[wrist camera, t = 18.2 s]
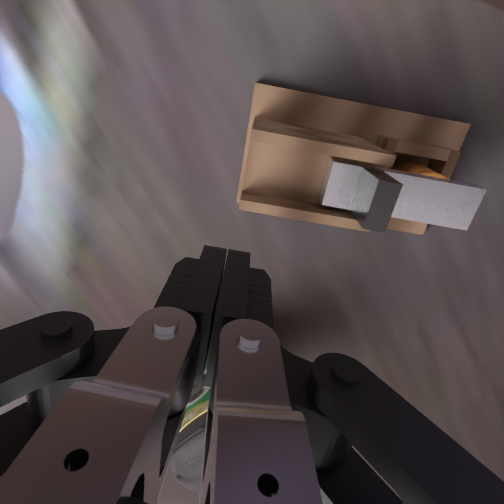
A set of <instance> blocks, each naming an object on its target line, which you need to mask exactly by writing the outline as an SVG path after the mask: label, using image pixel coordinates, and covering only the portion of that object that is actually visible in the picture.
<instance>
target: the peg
mask: <svg viewBox="0 0 504 504" xmlns="http://www.w3.org/2000/svg"><path fill="white" fill-rule="evenodd" d="M390 169H394V170H399V171H405V172H410V173H416V174H421V175H427V176H432V177H437V178H443V179H448V180H450V179H449V178H447V177H445V176H443V175H441V174H439V173H437V172H435V171H433V170H431V169H429V168H427V167H425V166H423V165H421V164H419V163H417V162H415V161H413V160H411V159H409V158H397V159H395V161H394V164H393V167H391V166H390Z"/></svg>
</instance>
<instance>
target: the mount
mask: <svg viewBox="0 0 504 504" xmlns="http://www.w3.org/2000/svg"><path fill="white" fill-rule="evenodd" d="M470 125H471V124H468V123H463V122H458V121H452V120H447V119H442V118H437V117H432V116H426V115H421V114H416V113H411V112H406V111H400V110H395V109H390V108H385V107H379V106H374V105H369V104H364V103H359V102H353V101H348V100H343V99H338V98H333V97H327V96H322V95H317V94H312V93H307V92H301V91H296V90H291V89H286V88H281V87H275V86H270V85H265V84H260V83H255V86H254V93H253V99H252V106H251V112H250V118H249V125H248V131H247V137H246V144H245V150H244V157H243V163H242V169H241V176H240V182H239V188H238V195H237V201H236V202H237V203H240V204H239V210H245V211H250V212H256V213H262V214H268V215H273V216H279V217H285V218H291V219H297V220H302V221H308V222H314V223H320V224H326V225H331V226H337V227H343V228H349V229H355V230H360V231H366V232H370V230H367V229H362V227H361V226H360V225H359V223H358V222H357V220H356V219H355V218H354V216H353V215H352V213H351V212H350V211H349V210H348V209H342V208H336V207H331V206H325V205H322V204H321V202H320V200H319V196H320V192H321V189H322V185H323V181H324V178H325V174H326V170H327V166H328V163H329V159H330V158H334V159H339V160H345V161H350V162H355V163H361V164H366V165H372V166H377V167H383V168H388V169H390V166H391V167H393V164H394V161H395V159H397V158H409V159H411V160H413V161H415V162H417V163H419V164H421V165H423V166H425V167H427V168H429V169H431V170H433V171H435V172H437V173H439V174H441V175H443V176H445V177H447V178H449V179H450V177H451V175H452V173H453V170H454V168H455V166H456V164H457V161H458V159H459V157H460V154H461V152H459V150H460V148H461V146H462V143H463V141H464V139H465V137H466V134H467V132H468V130H469V127H470ZM426 227H427V223H422V222H416V221H410V220H405V219H399V218H393V217H391V218H390V221H389V223H388V226H387V229H392V230H398V231H404V232H409V233H415V234H421V235H423V234H424V231H425V229H426Z"/></svg>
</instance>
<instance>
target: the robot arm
mask: <svg viewBox="0 0 504 504" xmlns="http://www.w3.org/2000/svg"><path fill="white" fill-rule="evenodd" d="M226 252H227V249H225V248H219V247H213V246H207V245H205V246H204V248H203V251H202V254H201V256H200V259H194V258H188V257H185V258H184V259H182V260H181V261H179V262H177V263H176V264H175V266H174V268H173V270H172V272H171V275H170V276H169V278H168V280H167V282H166V284H165V286H164V288H163V290H162V292H161V294H160V296H159V298H158V300H157V302H156V304H155V306H154V308H152V309H149V310H147V311H145V312H143V313H141V314H140V315H139V316H138V317H137V318H136V319H135V321H134V322H133V324H132V325H131V326H130V327H127V328H122V329H113V330H99V331H94V325H93V322H92V321H91V319H90V318H88V317H87V316H85V315H83V314H80V313H77V312H70V311H60V312H53V313H48V314H45V315H41V316H39V317H36V318H33V319H30V320H27V321H24V322H21V323H19V324H16V325H13V326H10V327H7V328H4V329H2V330H0V407H2V406H4V405H6V404H8V403H10V402H12V401H14V400H16V399H18V398H20V397H22V396H24V395H26V398H27V402H25V403H23V404H21V405H20V406H17V407H15V408H13V409H12V410H10V411H8V412H6V413H4V414H2V415H0V504H157V503H158V498H159V494H160V490H161V487H162V483H163V480H164V477H165V474H166V471H167V468H168V465H169V462H170V459H171V456H172V453H173V450H174V447H175V444H176V440H177V437H178V434H179V431H180V428H181V425H182V422H183V419H184V416H185V413H186V407H187V404H188V402H189V399H190V396H191V392H192V388H193V385H199V386H202V382H203V377H204V372H205V367H206V362H207V357H208V352H209V358H208V364H207V371H206V378H205V384H204V386H207V387H211V392H210V398H209V405H208V411H207V417H206V429H205V441H204V453H203V464H202V476H201V488H200V498H199V504H504V481H502V480H501V479H500V478H499V477H498V476H496V475H495V474H494V473H493V472H492V471H490V470H489V469H488V468H487V467H485V466H484V465H483V464H482V463H481V462H479V461H478V460H477V459H476V458H475V457H473V456H472V455H471V454H470V453H469V452H467V451H466V450H465V449H464V448H463V447H461V446H460V445H459V444H458V443H457V442H455V441H454V440H453V439H452V438H451V437H449V436H448V435H447V434H446V433H445V432H443V431H442V430H441V429H440V428H439V427H437V426H436V425H435V424H434V423H433V422H431V421H430V420H429V419H428V418H427V417H425V416H424V415H423V414H422V413H421V412H419V411H418V410H417V409H416V408H415V407H413V406H412V405H411V404H410V403H409V402H407V401H406V400H405V399H404V398H403V397H401V396H400V395H399V394H398V393H397V392H395V391H394V390H393V389H392V388H391V387H389V386H388V385H387V384H386V383H385V382H383V381H382V380H381V379H380V378H379V377H377V376H376V375H375V374H374V373H373V372H371V371H370V370H369V369H368V368H367V367H365V366H364V365H363V364H362V363H360V362H359V361H357V360H355V359H354V358H351V357H349V356H347V355H343V354H339V353H326V354H323V355H320V356H319V357H317V358H316V359H315V361H314V363H312V362H310V361H307V360H305V359H302V358H300V357H298V356H295V355H293V354H292V353H290V352H288V351H287V350H286V349H284V348H283V347H282V346H281V345H280V342H279V338H278V336H277V334H276V333H275V332H274V330H273V315H272V299H271V298H272V293H271V279H270V277H269V276H268V275H267V273H266V272H265V270H262V269H256V268H250V253H249V252H243V251H237V250H231V249H229V250H228V255H227V260H226V264H225V259H226ZM224 265H225V269H224ZM223 272H224V274H223ZM222 278H223V279H222ZM210 342H211V344H210ZM209 347H210V351H209ZM352 445H353V446H354V447H355V448H356V449H357V450H358V451H359V453H360V454H361V455H362V456H363V457H364V458H365V459H366V460H367V461H368V462H369V463H370V464H371V465H372V466H373V467H374V468H375V469H376V471H377V472H378V473H379V474H380V475H381V476H382V477H383V478H384V479H385V480H386V481H387V482H388V483H389V484H390V485H391V486H392V488H393V489H394V490H395V491H396V492H397V494H398V495H399V497H400V498H401V499H400V498H399V497H398V496H397V495H396V494H395V493H394V492H393V491H392V490H391V489H390V488H389V487H388V485H387V484H386V483H385V482H384V481H383V480H382V479H381V478H380V477H379V476H378V475H377V474H376V473H375V472H374V470H373V469H372V468H371V467H370V466H369V465H368V464H367V463H366V462H365V461H364V460H363V459H362V458H361V457H360V455H359V454H358V453H357V452H356V451H355V450H354V449H353V448H352Z"/></svg>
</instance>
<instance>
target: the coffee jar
mask: <svg viewBox="0 0 504 504" xmlns="http://www.w3.org/2000/svg"><path fill="white" fill-rule="evenodd" d="M210 344H211V342H210ZM209 351H210V347H209ZM208 358H209V352H208V357H207V362H206V367H205V372H204V377H203V382H202V386H199V385H193V388H192V392H191V396H190V399H189V402H188V404H187V407H186V413H185V416H184V419H183V422H182V425H181V428H180V431H179V434H178V437H177V440H176V444H175V447H174V450H173V454H172V469H173V472H174V475H175V478H176V480H177V481H178V482H180V483H181V484H182V485H184V486H186V487H187V488H189V489H191V490H193V491H195V492H197V493H199V494H200V488H201V476H202V464H203V453H204V441H205V429H206V417H207V411H208V405H209V398H210V392H211V387H207V386H204V384H205V378H206V371H207V364H208Z"/></svg>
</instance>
